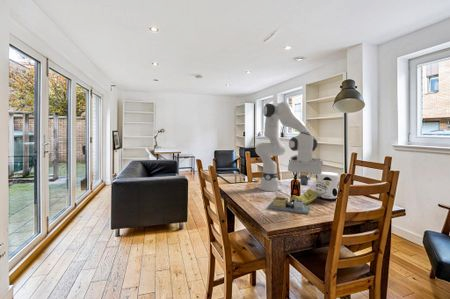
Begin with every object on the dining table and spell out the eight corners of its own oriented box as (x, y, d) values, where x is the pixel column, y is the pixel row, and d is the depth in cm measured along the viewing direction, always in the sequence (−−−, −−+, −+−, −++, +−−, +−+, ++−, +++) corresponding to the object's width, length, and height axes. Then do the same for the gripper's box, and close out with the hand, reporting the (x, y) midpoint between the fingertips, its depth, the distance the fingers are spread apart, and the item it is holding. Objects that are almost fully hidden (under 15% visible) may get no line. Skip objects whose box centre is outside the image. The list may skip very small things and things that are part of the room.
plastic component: (303, 203, 157) (292, 193, 164) (299, 211, 161) (288, 202, 167) (319, 195, 170) (308, 187, 176) (315, 203, 173) (304, 195, 179)
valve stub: (300, 183, 156) (301, 171, 155) (308, 184, 154) (308, 172, 153) (299, 185, 152) (300, 172, 151) (307, 185, 150) (307, 173, 149)
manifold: (272, 203, 164) (272, 195, 164) (309, 208, 154) (310, 199, 154) (268, 208, 153) (268, 199, 153) (307, 214, 143) (308, 205, 143)
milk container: (312, 199, 175) (313, 174, 173) (315, 193, 190) (316, 170, 189) (338, 202, 167) (340, 176, 165) (340, 196, 182) (341, 172, 181)
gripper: (323, 158, 150) (322, 180, 151) (289, 156, 158) (288, 177, 160) (322, 159, 144) (321, 182, 146) (287, 157, 153) (287, 178, 154)
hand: (304, 179), depth 153 cm, fingers closed on valve stub, 4 cm apart
